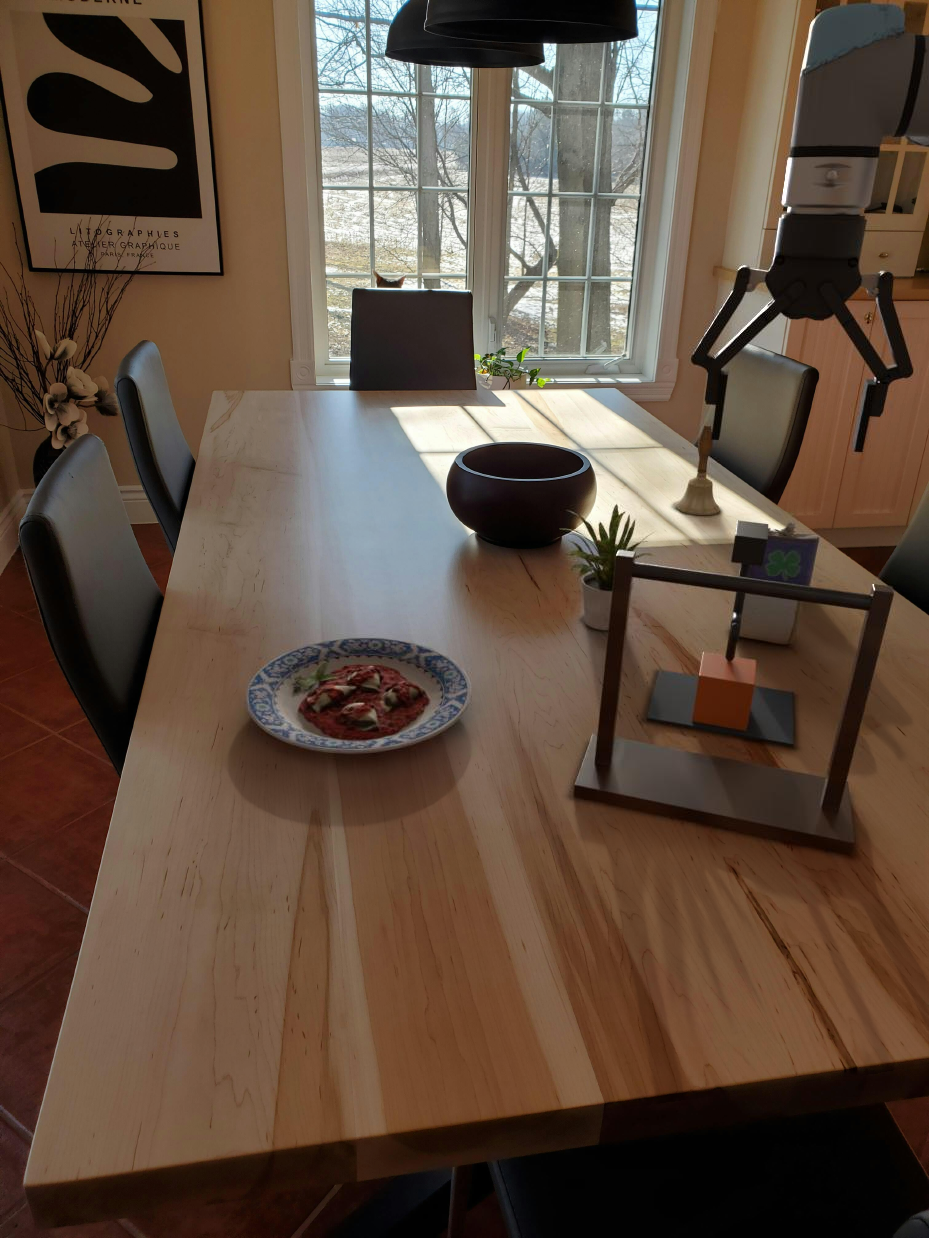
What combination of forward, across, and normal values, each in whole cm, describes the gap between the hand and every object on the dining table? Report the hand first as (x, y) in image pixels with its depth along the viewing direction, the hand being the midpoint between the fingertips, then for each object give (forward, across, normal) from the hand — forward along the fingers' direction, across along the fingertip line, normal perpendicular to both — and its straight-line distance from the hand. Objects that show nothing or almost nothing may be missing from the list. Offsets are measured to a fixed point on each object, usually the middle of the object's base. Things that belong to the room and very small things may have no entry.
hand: (784, 443), depth 91 cm
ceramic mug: (+32, +2, +23) cm, 40 cm away
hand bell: (+32, -10, +75) cm, 82 cm away
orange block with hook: (+32, -2, -1) cm, 32 cm away
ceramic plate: (+32, -42, -13) cm, 54 cm away
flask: (+32, +4, +40) cm, 51 cm away
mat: (+32, -2, +1) cm, 32 cm away
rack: (+32, -2, -17) cm, 36 cm away
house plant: (+32, -20, +20) cm, 43 cm away
